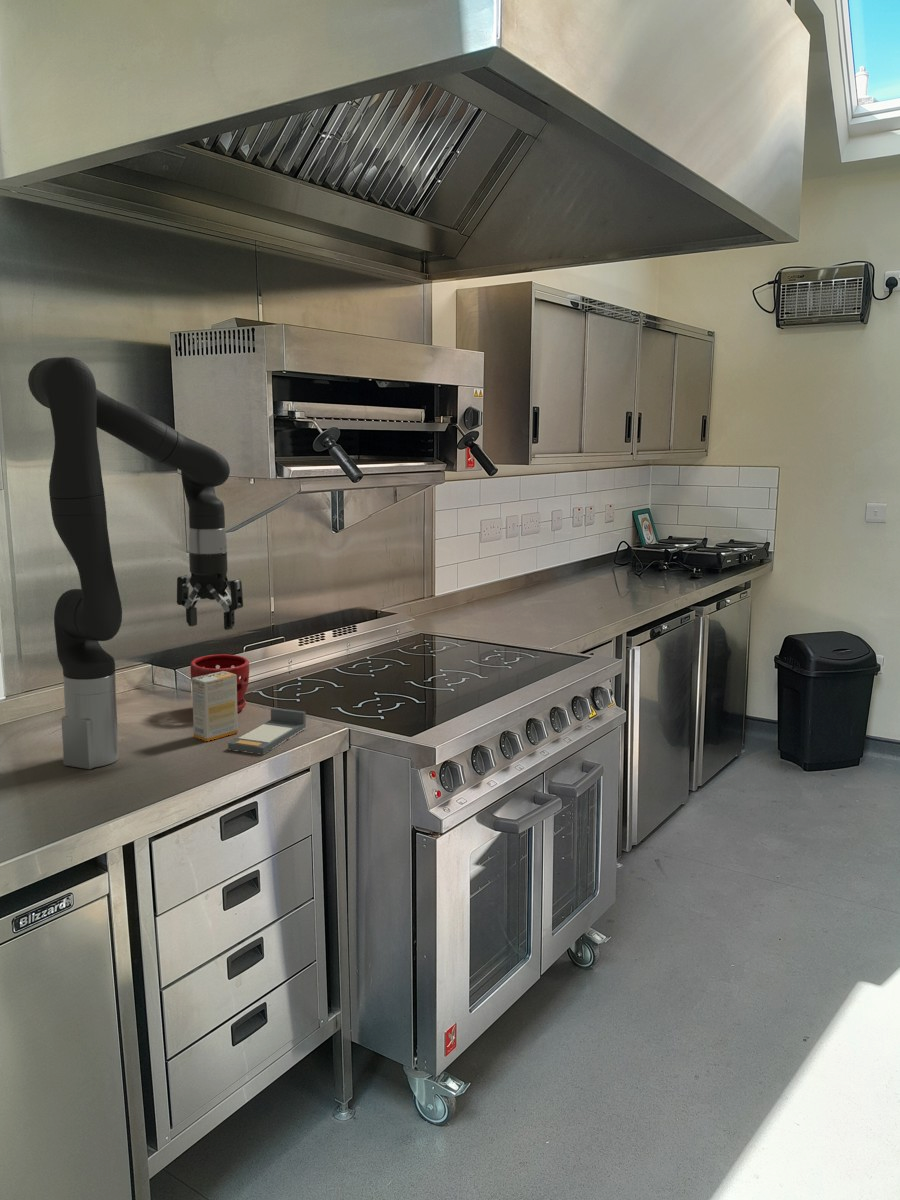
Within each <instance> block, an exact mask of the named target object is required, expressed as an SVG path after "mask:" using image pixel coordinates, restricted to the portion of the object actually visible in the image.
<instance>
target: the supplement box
mask: <svg viewBox="0 0 900 1200" xmlns="http://www.w3.org/2000/svg"><path fill="white" fill-rule="evenodd" d="M191 693H192V694H191V695H192V718H193V719H192V720H193V737H194V738H195V737H196V738H195V739H197V738H199V739H198V740H200V739H202V740H201V741H203V740H204V741H203V742H206V741H208V742H211V741H210V740H212V741H215V740H218V739H221V738H224V737H228V735H229V736H231V735H234V734H235V733H236V734H238V732H239V728H238V727H239V725H238V724H239V723H238V721H239V719H238V712H237V675H236V674H233V673H229V672H226V671H221V672H217V673H212V674H208V675H203V676H199V677H194V678H192V682H191ZM214 739H215V740H214Z"/></svg>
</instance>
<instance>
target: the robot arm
mask: <svg viewBox="0 0 900 1200" xmlns="http://www.w3.org/2000/svg"><path fill="white" fill-rule="evenodd" d="M27 379H28V380H27V384H28V388H29V391H30V393H31V394H32V395H31V396H33V399H35V400H36V402H38V403H39V404H40V405H41V406H43V407H45V408H47V409H49V410H50V415H51V421H52V427H53V434H54V435H53V436H54V446H53V447H54V449H53V456H52V462H51V467H50V473H49V481H48V491H49V503H50V511H51V516H52V518H51V519H52V522H53V525H54V528H55V531H56V532H57V534H58V536H59V538H60V539H61V542H62V543H63V545H64V546H65V548H66V549H67V552H68V553H69V555H70V556H71V558H72V559H73V562H74V564H75V566H76V569H77V572H78V575H79V580H80V588H73V589H69V590H66V591H64V592H63V593H62V594H61V595H60V597H59V598H58V599H57V601H56V604H55V607H54V613H53V614H54V615H53V624H54V625H53V626H54V635H55V642H56V643H55V646H56V654H57V658H58V662H59V663H60V666H61V667H62V675H63V695H64V697H63V698H64V699H63V700H64V715H63V716H62V717H61V734H62V735H61V736H62V752H63V753H62V758H63V766H66V767H67V766H68V767H74V768H79V769H85V770H91V769H94V768H98V767H99V768H100V767H104V766H108V765H110V764H113V763H115V762H117V760H118V759H119V735H118V732H119V731H118V712H117V711H118V709H117V707H118V705H117V685H116V681H117V680H116V678H117V677H116V663H115V659H114V657H113V656H112V655H111V654H109V653H108V652H107V651H106V650H105V649H104V648H103V647H102V646H101V644H100V643H99V642H106V641H110V640H112V639H113V638H114V637H115V636H116V635H117V634H118V633H119V632H120V631H119V630H120V628H121V625H122V621H123V607H122V601H121V597H120V591H119V588H118V583H117V578H116V574H115V569H114V564H113V559H112V551H111V543H110V538H109V537H110V536H109V529H108V521H107V520H108V519H107V507H106V495H105V489H104V483H103V475H102V465H101V457H100V452H99V451H100V450H99V443H98V430H97V429H100V430H101V431H104V432H105V433H107V434H109V435H111V436H113V437H114V438H116V439H117V440H120V441H121V442H122V443H124V444H126V445H128V446H130V447H132V448H133V449H135V450H137V451H139V452H140V453H141V454H143V455H145V456H147V457H149V458H150V459H153V461H155V462H157V463H159V464H162V465H163V466H166V467H170V468H173V469H177V470H179V471H180V473H181V474H180V476H181V482H182V486H183V491H184V494H185V495H184V496H185V498H186V502H187V505H188V521H189V522H188V523H189V524H188V525H189V527H188V528H189V529H188V531H189V533H188V555H189V556H188V559H189V562H188V563H189V572H190V576H188V575H187V574H185V575H181V576H178V577H177V579H176V604H177V605H178V606H182V607H184V608H185V617H186V620H185V621H186V623H187V624H188V625H187V626H188V627H195V626H197V625H198V611H197V610H198V608H197V607H196V606H197V604H198V603H199V601H200V600H205V599H206V600H207V599H209V601H212V600H214V601H216V602H217V604H219V605H220V606H221V607H222V609H223V610H224V611H223V629H224V630H226V631H229V630H232V629H233V627H235V624H236V623H235V611H236V610H239V609H242V608H243V607H244V597H243V584H242V579H240V578H237V579H228V576H227V575H228V571H229V570H228V544H227V543H228V541H227V533H226V528H225V527H226V525H225V524H226V521H225V520H226V518H225V517H226V516H225V514H226V513H225V505H224V503H223V501H222V500H221V499H220V498H218V497H217V495H216V490H215V488H216V487H218V486H221V485H223V484H224V483H225V482H227V480H228V479H229V477H230V472H231V471H230V470H231V468H230V465H229V462H228V461H227V459H226V458H225V456H224V455H223V454H221V453H220V452H219V451H217V450H215V449H213V448H211V447H210V446H207V445H205V444H203V443H200V442H198V441H196V440H194V439H191V438H189V437H188V436H187V437H186V436H184V435H183V434H181V433H180V432H179V431H177V430H175V429H174V428H172V427H171V426H169V425H168V424H166V423H164V422H163V421H161V420H159V419H157V418H155V417H153V416H151V415H150V414H147V413H145V412H142V411H141V410H138V409H136V408H134V407H131V406H129V405H127V404H124V403H123V402H120V401H118V400H116V399H115V398H113V397H110V396H108V395H107V394H106V393H104V392H102V391H101V390H99V389H97V384H96V381H95V376H94V374H93V372H92V371H91V369H90V367H89V366H88V365H87V364H85V362H83V361H82V360H80V359H78V358H75V357H68V356H65V357H64V356H63V357H51V358H49V357H48V358H46V359H42V360H40V361H38V362H37V363H36V364H35V365H33V367H31V369H30V371H29V373H28V377H27ZM190 586H191V587H192V590H191V592H190V594H189V589H190V588H189V587H190ZM227 588H228V590H229V591H230V594H229V592H228V590H227Z"/></svg>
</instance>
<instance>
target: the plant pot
mask: <svg viewBox="0 0 900 1200" xmlns="http://www.w3.org/2000/svg"><path fill="white" fill-rule="evenodd" d="M216 666H219V668H217V667H216ZM221 671H226V672H229V673H233V674H236V675H237V713H238V712H241V711H242V710H243V709H244V708H245V707H246V705H247V701H246V699H245V698H244V697H245V695H246V693H247V689H248V686H249V680H250V679H249V678H250V661H249V659H248V658H246V657H244V656H240V655H236V654H227V653H226V654H223V653H221V654H209V655H204V656H200V657H196V658H194V659H193V660H191V662H190V680H191V683H192V678H194V677H199V676H203V675H208V674H212V673H217V672H221Z"/></svg>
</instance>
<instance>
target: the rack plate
mask: <svg viewBox="0 0 900 1200" xmlns="http://www.w3.org/2000/svg"><path fill="white" fill-rule="evenodd" d="M306 717H307V716H306V711H301V710H295V709H289V708H279V707H271V708H270V720H268V721H265V722H264V723H262V724H261V725H259V726H257V727H255V728H253V729H251V730H249V731H248V732H246V733H244V734H242V735H240V736H239V737H236V738H234V739H232V740H231V741H229V742H228V743H227V745H228V746H227V749H230V750H229V751H231V750H238V751H247V752H253V753H260V754H264V753H266V752H267V751H269V750H270V749H272V748H273V747H275V746H276V745H278V744H279V743H281V742H282V741H284V740H285V739H287V738H289V737H290V736H292V735H294V734H295V733H297V732H298V731H300V730H302V729H303V728H305V727H307V725H306V720H307V719H306ZM238 751H237V752H238ZM269 752H270V751H269ZM266 754H267V753H266ZM264 755H265V754H264Z"/></svg>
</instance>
